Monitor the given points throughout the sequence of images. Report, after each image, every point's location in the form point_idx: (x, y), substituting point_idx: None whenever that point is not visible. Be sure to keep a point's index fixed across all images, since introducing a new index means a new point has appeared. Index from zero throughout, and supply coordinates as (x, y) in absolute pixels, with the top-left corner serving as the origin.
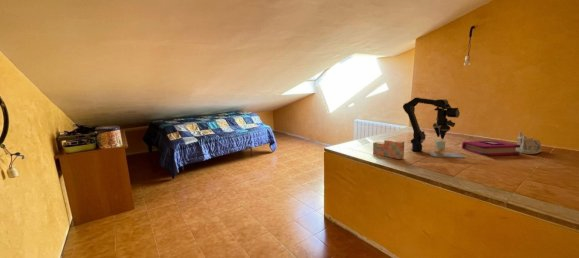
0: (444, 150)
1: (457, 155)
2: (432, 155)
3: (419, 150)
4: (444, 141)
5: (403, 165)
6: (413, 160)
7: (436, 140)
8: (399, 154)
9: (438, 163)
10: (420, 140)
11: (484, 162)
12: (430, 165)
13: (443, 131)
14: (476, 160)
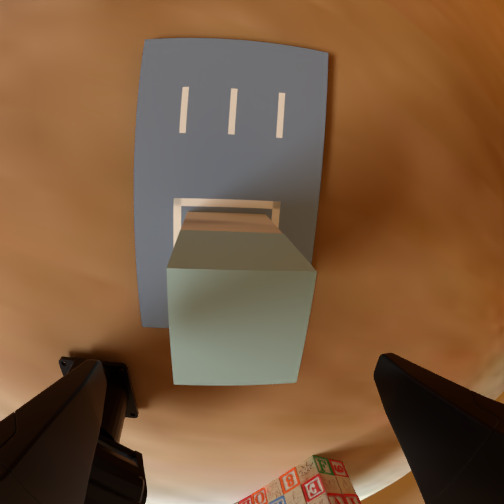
0: (277, 229)
1: (262, 82)
2: None
3: (118, 381)
4: (290, 278)
5: None
6: (375, 420)
7: (193, 376)
8: (348, 481)
9: (448, 316)
10: (136, 470)
11: (422, 9)
12: (462, 355)
13: (495, 470)
14: (381, 15)
